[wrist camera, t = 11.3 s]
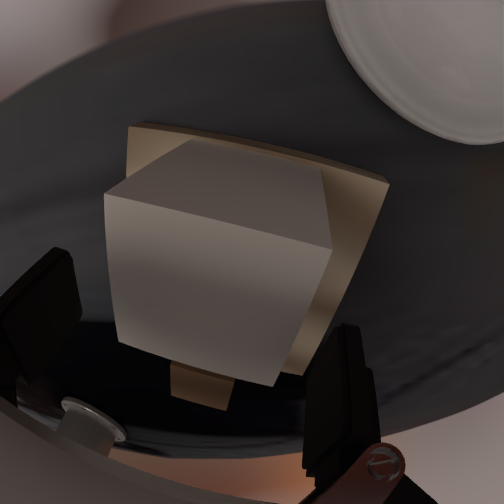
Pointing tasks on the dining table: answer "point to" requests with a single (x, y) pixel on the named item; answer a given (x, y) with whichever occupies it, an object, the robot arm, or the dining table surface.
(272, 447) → the dining table surface
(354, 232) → the post board
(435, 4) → the ramekin
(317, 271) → the matte grey cube
